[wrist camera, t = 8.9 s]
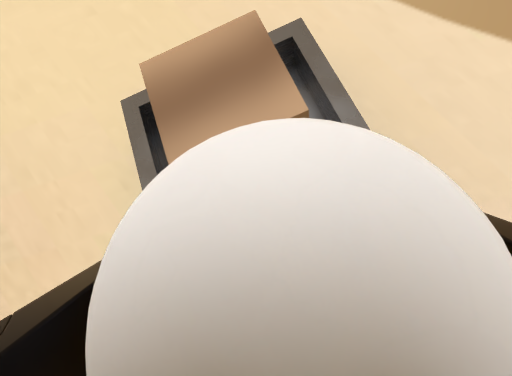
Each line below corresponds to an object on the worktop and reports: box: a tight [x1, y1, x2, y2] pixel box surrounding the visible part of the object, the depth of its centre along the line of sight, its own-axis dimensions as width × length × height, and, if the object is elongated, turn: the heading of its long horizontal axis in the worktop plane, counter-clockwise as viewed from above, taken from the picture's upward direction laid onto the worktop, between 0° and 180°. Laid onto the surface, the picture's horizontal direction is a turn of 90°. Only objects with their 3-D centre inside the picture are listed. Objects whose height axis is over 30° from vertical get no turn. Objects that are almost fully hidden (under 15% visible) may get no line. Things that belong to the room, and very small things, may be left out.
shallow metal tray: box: [121, 18, 370, 191], centre depth 16 cm, size 22×12×4 cm, turn 20°
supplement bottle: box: [85, 118, 512, 376], centre depth 9 cm, size 7×7×13 cm
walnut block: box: [139, 10, 309, 164], centre depth 16 cm, size 6×6×6 cm
